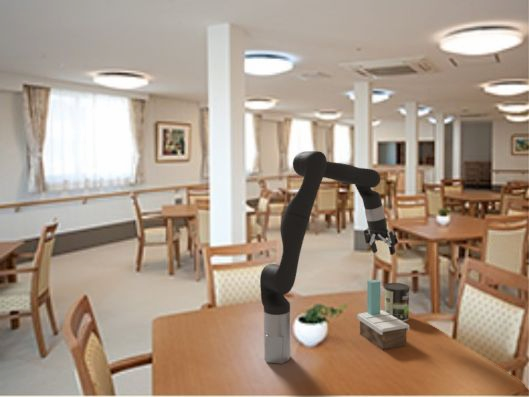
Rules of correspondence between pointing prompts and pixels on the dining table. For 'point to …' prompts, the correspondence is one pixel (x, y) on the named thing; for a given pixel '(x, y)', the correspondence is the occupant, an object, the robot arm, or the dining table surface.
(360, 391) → the dining table surface
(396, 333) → the tub
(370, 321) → the lid
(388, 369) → the dining table surface
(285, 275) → the robot arm
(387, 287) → the coffee can
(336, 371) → the dining table surface
